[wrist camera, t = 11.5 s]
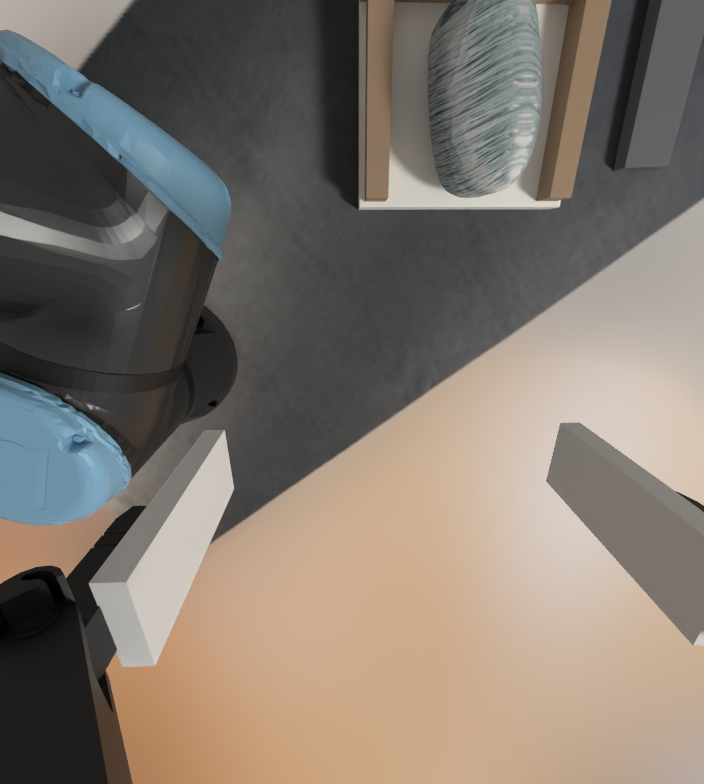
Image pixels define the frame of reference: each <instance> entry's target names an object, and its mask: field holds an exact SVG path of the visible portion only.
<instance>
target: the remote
mask: <svg viewBox="0 0 704 784" xmlns="http://www.w3.org/2000/svg"><path fill="white" fill-rule="evenodd" d="M703 35H704V0H649V4H648V9H647V14H646V19H645V23H644V28H643V33H642V38H641V42H640V47H639V52H638V57H637V61H636V66H635V71H634V76H633V80H632V85H631V90H630V94H629V99H628V104H627V109H626V113H625V118H624V123H623V128H622V132H621V137H620V142H619V147H618V151H617V156H616V161H615V166H614V170H613V171H632V170H656V169H660V168H664V167H668V166H669V164H670V160H671V157H672V153H673V149H674V145H675V141H676V137H677V134H678V130H679V126H680V122H681V118H682V115H683V111H684V107H685V103H686V99H687V96H688V92H689V88H690V84H691V80H692V77H693V73H694V69H695V65H696V61H697V57H698V54H699V50H700V46H701V42H702V38H703Z"/></svg>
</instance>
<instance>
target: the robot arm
mask: <svg viewBox="0 0 704 784" xmlns="http://www.w3.org/2000/svg"><path fill="white" fill-rule="evenodd" d="M230 215H231V198H230V195H229V192H228V190H227V188H226V186H225V184H224V183H223V181H222V180H221V179H220V178H219V176H218V175H217V174H216V173H215V172H214V171H213V170H212V169H211V168H210V167H209V166H207V165H206V164H205V163H204V162H203V161H202V160H201V159H199V158H198V157H197V156H196V155H194V154H193V153H192V152H191V151H189V150H188V149H187V148H186V147H184V146H183V145H182V144H180V143H179V142H178V141H177V140H175V139H174V138H173V137H171V136H170V135H169V134H167V133H166V132H165V131H163V130H162V129H161V128H159V127H158V126H157V125H155V124H154V123H153V122H151V121H150V120H148V119H147V118H146V117H144V116H143V115H142V114H140V113H139V112H137V111H136V110H135V109H133V108H132V107H130V106H129V105H128V104H126V103H125V102H123V101H122V100H121V99H119V98H118V97H116V96H115V95H113V94H112V93H110V92H109V91H107V90H106V89H104V88H103V87H101V86H100V85H98V84H96V83H93V82H90V81H89V80H88V79H87V78H86V77H85V76H84V75H82V74H81V73H79V72H77V71H76V70H74V69H73V68H71V67H69V66H68V65H67V64H65V63H64V62H63V61H61V60H60V59H59V58H58V57H56V56H55V55H53V54H51V53H50V52H49V51H47V50H45V49H44V48H42V47H40V46H39V45H37V44H36V43H34V42H32V41H30V40H29V39H27V38H25V37H23V36H21V35H20V34H17V33H15V32H12V31H9V30H1V31H0V518H1V519H5V520H9V521H13V522H17V523H22V524H29V525H44V526H45V525H59V524H64V523H67V522H69V521H77V520H81V519H84V518H86V517H88V516H90V515H92V514H93V513H95V512H96V511H98V510H99V509H100V508H102V507H103V506H104V505H105V504H106V503H107V502H108V501H109V500H111V499H112V498H113V497H114V496H115V495H116V494H118V493H120V492H121V491H123V490H124V489H125V488H126V487H127V484H129V482H130V480H131V478H132V477H133V476H134V475H135V474H136V473H137V472H138V470H139V469H140V468H141V467H142V466H143V465H144V464H145V463H146V462H147V461H148V459H149V458H150V457H151V456H152V455H153V454H154V453H155V452H156V451H157V449H158V448H159V447H160V446H161V445H162V444H163V443H164V442H165V441H166V440H167V438H168V437H169V436H170V435H171V434H172V433H173V432H174V431H175V430H176V429H177V427H178V426H179V425H180V424H183V423H186V422H189V421H192V420H195V419H198V418H200V417H203V416H205V415H206V414H208V413H210V412H211V411H212V410H214V409H215V408H216V407H217V406H218V405H219V404H220V403H221V402H222V401H223V399H224V398H225V397H226V396H227V394H228V393H229V392H230V390H231V388H232V386H233V384H234V381H235V378H236V373H237V355H236V350H235V346H234V343H233V341H232V338H231V336H230V334H229V332H228V331H227V329H226V328H225V326H224V325H223V323H222V322H221V321H220V320H219V319H218V317H217V316H216V315H215V314H214V313H212V312H211V311H210V310H209V309H208V308H206V307H205V306H204V302H205V299H206V296H207V293H208V290H209V286H210V283H211V280H212V277H213V274H214V271H215V268H216V265H217V262H218V261H221V260H222V257H223V253H222V251H221V248H222V244H223V241H224V237H225V234H226V230H227V226H228V223H229V219H230ZM546 481H547V483H548V484H549V485H550V486H551V487H552V488H553V489H554V490H555V492H556V493H557V494H558V495H559V496H560V497H561V498H562V499H563V500H564V501H565V503H566V504H567V505H568V506H569V507H570V508H571V509H572V511H573V512H574V513H575V514H576V515H577V516H578V517H579V518H580V519H581V521H582V522H583V523H584V524H585V525H586V526H587V527H588V528H589V530H590V531H591V532H592V533H593V534H594V535H595V536H596V537H597V538H598V540H599V541H600V542H601V543H602V544H603V545H604V546H605V547H606V549H607V550H608V551H609V552H610V553H611V554H612V555H613V556H614V558H616V560H617V561H618V562H619V563H620V564H621V565H622V566H623V568H624V569H625V570H626V571H627V572H628V573H629V574H630V575H631V577H632V578H633V579H634V580H635V581H636V582H637V583H638V584H639V586H640V587H641V588H642V589H643V590H644V591H645V592H646V593H647V594H648V596H649V597H650V598H651V599H652V600H653V601H654V602H655V603H656V604H657V606H658V607H659V608H660V609H661V610H662V611H663V612H664V613H665V615H667V617H668V618H669V619H670V620H671V621H672V622H673V623H674V624H675V626H676V627H677V628H678V629H679V630H680V631H681V633H682V634H683V635H684V636H685V637H686V638H687V639H688V640H689V641H690V643H691V644H692V645H704V506H703V505H701V504H700V503H699V502H697V501H695V500H693V499H691V498H689V497H687V496H685V495H683V494H681V493H678V492H676V491H674V490H672V489H671V488H670V487H668V486H667V485H665V484H664V483H663V482H661V481H660V480H658V479H657V478H656V477H654V476H653V475H652V474H650V473H649V472H647V471H646V470H645V469H643V468H642V467H640V466H639V465H637V464H636V463H635V462H633V461H632V460H631V459H629V458H628V457H627V456H625V455H624V454H622V453H621V452H620V451H618V450H617V449H615V448H614V447H613V446H611V445H610V444H609V443H607V442H606V441H604V440H603V439H602V438H600V437H599V436H597V435H596V434H595V433H593V432H592V431H590V430H589V429H588V428H586V427H585V426H583V425H582V424H580V423H561V424H560V427H559V431H558V435H557V439H556V444H555V448H554V452H553V456H552V460H551V464H550V468H549V472H548V476H547V480H546ZM233 490H234V485H233V479H232V473H231V467H230V461H229V454H228V448H227V442H226V436H225V430H204V431H203V433H202V434H201V435H200V437H199V438H198V439H197V441H196V442H195V443H194V445H193V446H192V447H191V448H190V450H189V451H188V452H187V454H186V455H185V456H184V458H183V459H182V460H181V462H180V463H179V464H178V466H177V467H176V468H175V470H174V471H173V472H172V474H171V475H170V476H169V478H168V479H167V480H166V482H165V483H164V484H163V485H162V487H161V488H160V489H159V491H158V492H157V493H156V495H155V496H154V497H153V499H152V500H151V501H150V503H149V504H148V505H147V506H133V507H132V508H130V509H129V510H127V511H126V512H125V513H123V514H122V515H121V516H119V517H118V518H116V519H115V521H114V522H113V523H112V524H111V525H110V527H109V528H108V529H107V530H106V532H105V533H104V536H101V537H100V539H99V540H98V541H97V542H96V543H95V545H94V548H91V549H90V551H89V552H88V553H87V554H86V555H85V557H84V558H83V559H82V560H81V561H80V563H79V564H78V565H77V566H76V567H75V569H74V570H73V571H72V572H71V573H70V574H69V576H68V577H67V578H65V576H64V574H63V572H62V571H61V569H60V568H58V567H54V566H42V567H36V568H33V569H30V570H27V571H24V572H21V573H19V574H17V575H15V576H13V577H12V578H10V579H8V580H6V581H4V582H3V583H1V584H0V784H132V779H131V775H130V770H129V766H128V761H127V757H126V752H125V748H124V743H123V739H122V735H121V731H120V726H119V721H118V717H117V712H116V708H115V703H114V699H113V695H112V690H111V685H110V681H109V677H108V675H107V672H106V668H107V667H108V665H109V663H110V661H111V659H112V658H113V656H114V654H115V652H117V655H118V657H119V660H120V663H121V665H122V667H136V666H155V665H156V663H157V661H158V658H159V656H160V654H161V652H162V649H163V647H164V645H165V643H166V640H167V638H168V636H169V634H170V631H171V629H172V627H173V625H174V622H175V620H176V618H177V616H178V613H179V611H180V609H181V607H182V604H183V602H184V600H185V598H186V595H187V593H188V591H189V589H190V586H191V584H192V582H193V580H194V577H195V575H196V573H197V571H198V568H199V566H200V564H201V562H202V560H203V557H204V555H205V553H206V551H207V548H208V546H209V544H210V542H211V539H212V537H213V535H214V533H215V530H216V528H217V526H218V524H219V521H220V519H221V517H222V515H223V512H224V510H225V508H226V506H227V503H228V501H229V499H230V497H231V495H232V492H233Z"/></svg>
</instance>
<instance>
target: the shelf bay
mask: <svg viewBox="0 0 704 784" xmlns="http://www.w3.org/2000/svg"><path fill="white" fill-rule="evenodd" d="M452 1H453V0H359V210H421V209H552V208H557V207H560V202H561V200H564V199H568V198H571V196H572V191H573V187H574V182H575V177H576V172H577V167H578V162H579V157H580V152H581V147H582V142H583V137H584V133H585V128H586V123H587V118H588V113H589V108H590V103H591V98H592V93H593V88H594V83H595V79H596V74H597V69H598V64H599V59H600V54H601V49H602V44H603V39H604V34H605V30H606V25H607V20H608V15H609V10H610V5H611V0H535V2H536V8H537V14H538V20H539V33H540V41H541V60H542V99H541V111H540V123H539V129H538V134H537V139H536V144H535V148H534V151H533V153H532V155H531V158H530V160H529V163H528V165H527V166H526V168H525V169H524V171H523V172H522V173H521V175H520V176H519V177H518V178H517V179H516V180H515V181H514V182H513V183H512V184H511V185H510V186H509V187H508V188H506V189H505V190H502V191H499V192H496V193H493V194H487V195H484V196H481V197H473V198H461V197H457V196H455V195H452V194H450V193H449V192H447V191H446V190H445V189H444V187H443V186H442V184H441V182H440V180H439V177H438V175H437V172H436V169H435V164H434V157H433V152H432V142H431V135H430V123H429V107H428V52H429V45H430V39H431V35H432V33H433V30H434V28H435V26H436V24H437V22H438V20H439V18H440V17H441V15H442V14H443V12H444V11H445V10H446V8H447V7H448V6H449V4H450V3H451V2H452Z"/></svg>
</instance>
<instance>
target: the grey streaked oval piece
mask: <svg viewBox="0 0 704 784" xmlns="http://www.w3.org/2000/svg"><path fill="white" fill-rule="evenodd" d="M541 99H542V60H541V41H540V33H539V20H538V14H537V8H536V2H535V0H453V1H452V2H451V3H450V4H449V6H448V7H447V8H446V10H445V11H444V12H443V14H442V15H441V17H440V18H439V20H438V22H437V24H436V26H435V28H434V30H433V33H432V35H431V39H430V45H429V52H428V107H429V123H430V135H431V142H432V152H433V157H434V164H435V169H436V172H437V175H438V177H439V180H440V182H441V184H442V186H443V187H444V189H445V190H446V191H447V192H449V193H450V194H452V195H455V196H457V197H461V198H473V197H481V196H484V195H487V194H493V193H496V192H499V191H502V190H505V189H506V188H508V187H509V186H510V185H511V184H512V183H513V182H514V181H515V180H516V179H517V178H518V177H519V176H520V175H521V173H522V172H523V171H524V169H525V168H526V166H527V165H528V163H529V160H530V158H531V155H532V153H533V151H534V148H535V144H536V139H537V134H538V129H539V123H540V111H541Z"/></svg>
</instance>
